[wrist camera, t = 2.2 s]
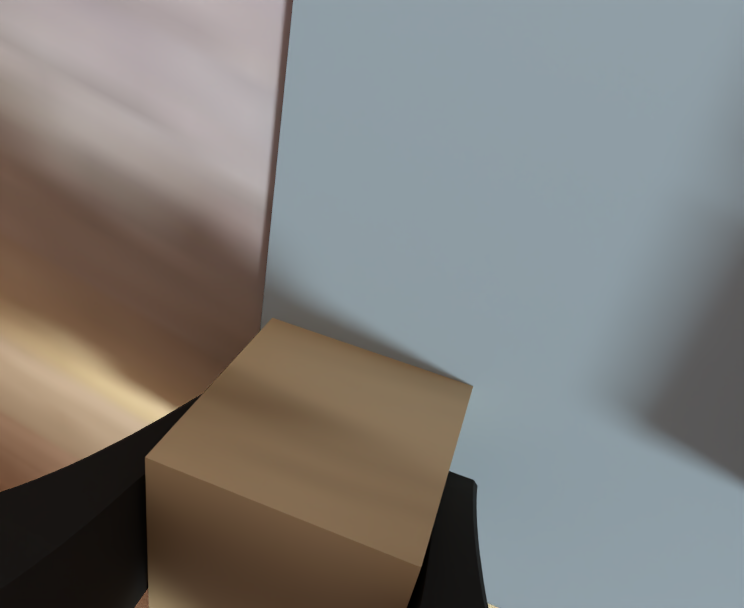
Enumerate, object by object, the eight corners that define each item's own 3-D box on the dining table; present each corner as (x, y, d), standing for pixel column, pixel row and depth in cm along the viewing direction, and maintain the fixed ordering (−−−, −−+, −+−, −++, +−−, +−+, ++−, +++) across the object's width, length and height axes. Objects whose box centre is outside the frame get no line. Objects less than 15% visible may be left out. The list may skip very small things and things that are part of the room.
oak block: (424, 527, 15) (367, 718, 11) (256, 462, 16) (148, 620, 12) (473, 386, 12) (421, 567, 9) (272, 317, 13) (144, 457, 9)
